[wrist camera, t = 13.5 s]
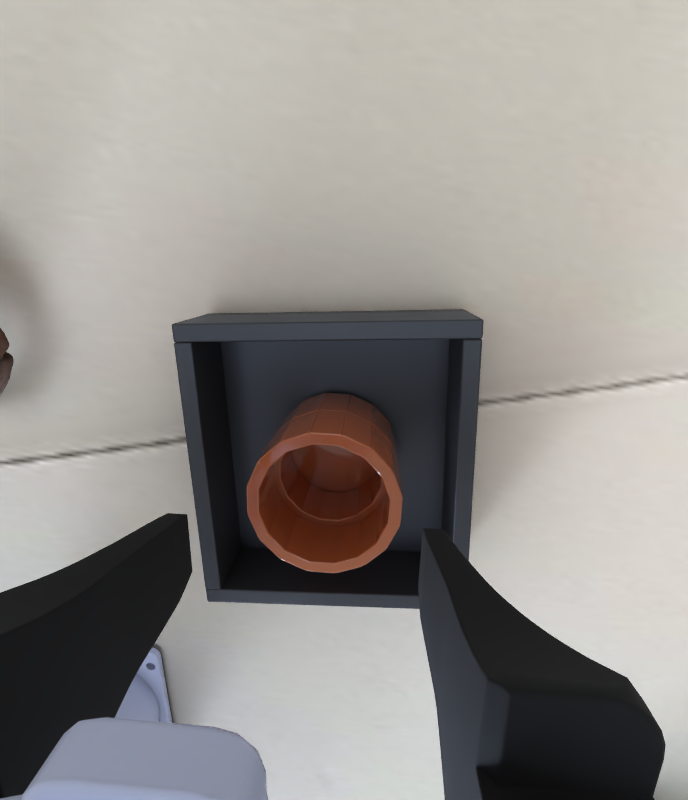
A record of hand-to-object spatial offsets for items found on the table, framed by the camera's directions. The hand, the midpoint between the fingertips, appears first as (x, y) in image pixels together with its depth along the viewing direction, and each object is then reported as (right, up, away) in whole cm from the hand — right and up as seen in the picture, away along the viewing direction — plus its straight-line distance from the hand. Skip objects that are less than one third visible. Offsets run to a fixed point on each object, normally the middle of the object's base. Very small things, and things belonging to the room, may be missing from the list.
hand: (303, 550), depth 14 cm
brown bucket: (+1, +2, +8) cm, 8 cm away
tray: (+1, +2, +8) cm, 9 cm away
